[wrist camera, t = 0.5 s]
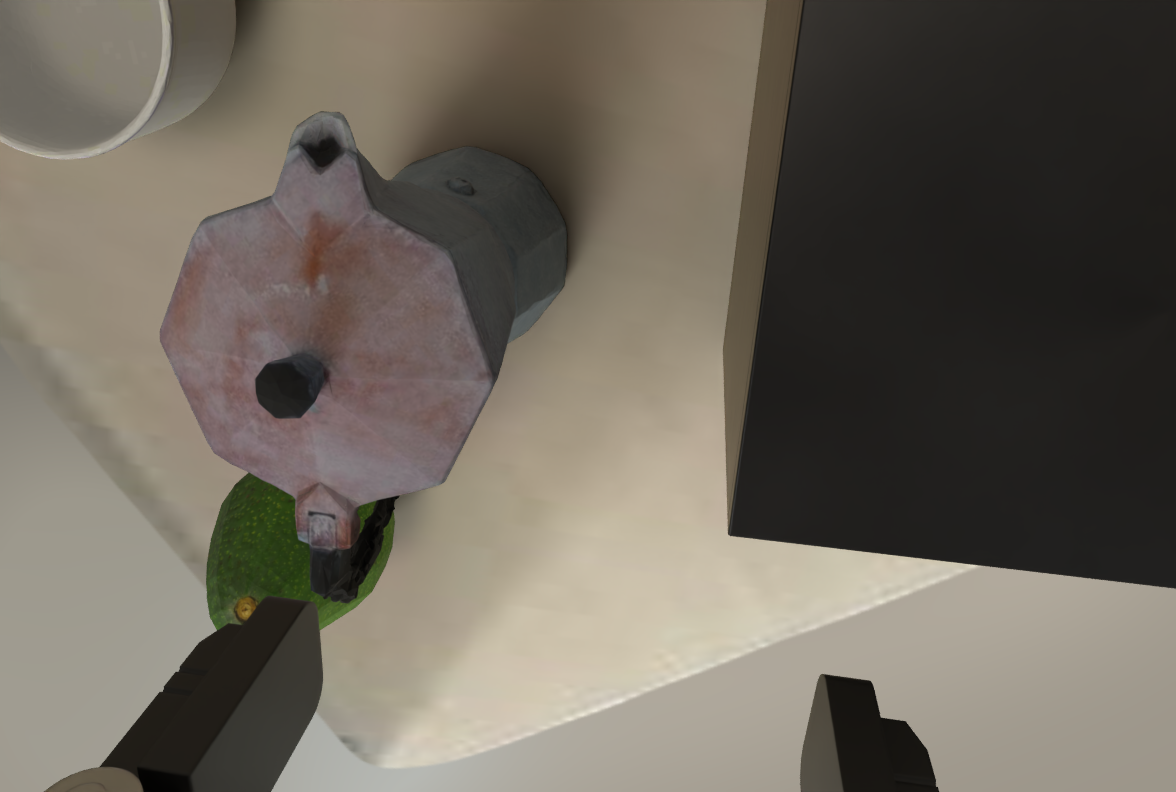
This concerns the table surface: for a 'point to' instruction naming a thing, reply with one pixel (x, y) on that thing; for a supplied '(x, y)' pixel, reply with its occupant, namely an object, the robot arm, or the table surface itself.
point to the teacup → (106, 69)
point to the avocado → (270, 556)
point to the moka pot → (359, 327)
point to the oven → (960, 285)
